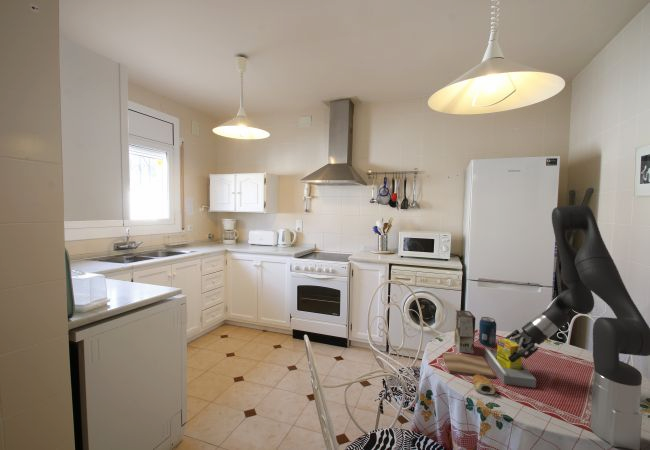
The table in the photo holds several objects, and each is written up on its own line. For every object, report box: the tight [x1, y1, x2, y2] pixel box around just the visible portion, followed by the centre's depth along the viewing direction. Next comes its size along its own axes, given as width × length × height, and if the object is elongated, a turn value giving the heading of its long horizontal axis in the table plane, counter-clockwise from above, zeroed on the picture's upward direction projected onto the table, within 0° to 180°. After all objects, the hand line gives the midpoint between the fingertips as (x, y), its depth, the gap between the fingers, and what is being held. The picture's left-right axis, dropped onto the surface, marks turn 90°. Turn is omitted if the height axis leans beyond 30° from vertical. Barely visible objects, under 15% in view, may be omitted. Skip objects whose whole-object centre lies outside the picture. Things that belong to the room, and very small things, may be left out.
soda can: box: [478, 316, 497, 348], centre depth 135 cm, size 7×7×12 cm
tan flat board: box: [441, 352, 496, 379], centre depth 115 cm, size 14×16×1 cm
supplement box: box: [496, 338, 523, 370], centre depth 112 cm, size 6×6×11 cm
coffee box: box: [454, 309, 476, 354], centre depth 130 cm, size 9×6×16 cm
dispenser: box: [484, 346, 537, 389], centre depth 112 cm, size 20×10×4 cm, turn 169°
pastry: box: [472, 374, 496, 395], centre depth 102 cm, size 9×7×4 cm
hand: (505, 355), depth 112 cm, fingers closed on supplement box, 8 cm apart
